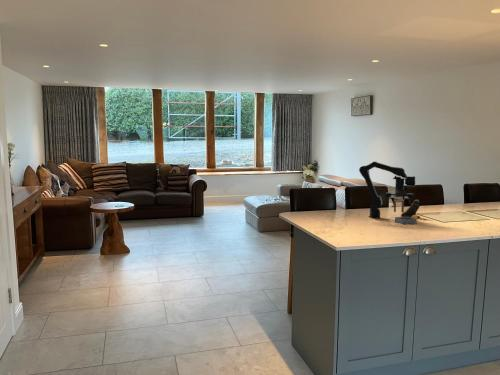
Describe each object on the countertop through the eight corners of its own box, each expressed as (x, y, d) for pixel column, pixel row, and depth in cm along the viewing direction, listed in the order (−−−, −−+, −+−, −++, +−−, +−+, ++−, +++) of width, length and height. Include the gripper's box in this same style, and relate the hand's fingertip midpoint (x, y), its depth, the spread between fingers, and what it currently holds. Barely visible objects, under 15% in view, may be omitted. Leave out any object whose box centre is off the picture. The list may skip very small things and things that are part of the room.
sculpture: (418, 218, 299) (419, 200, 298) (400, 216, 307) (401, 199, 306) (420, 217, 304) (421, 199, 302) (402, 215, 312) (403, 198, 310)
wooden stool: (403, 212, 293) (404, 201, 292) (393, 211, 295) (394, 200, 294) (403, 210, 299) (403, 199, 298) (393, 210, 301) (394, 199, 300)
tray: (402, 224, 278) (402, 219, 278) (394, 221, 288) (394, 217, 288) (416, 223, 280) (416, 219, 279) (408, 221, 290) (408, 216, 289)
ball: (413, 221, 289) (413, 215, 288) (410, 220, 293) (410, 214, 292) (418, 221, 289) (418, 215, 289) (415, 220, 293) (415, 214, 293)
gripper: (385, 186, 290) (384, 208, 292) (414, 187, 284) (413, 209, 286) (385, 184, 300) (385, 206, 302) (413, 185, 294) (412, 207, 296)
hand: (398, 207), depth 296 cm, fingers closed on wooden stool, 6 cm apart
